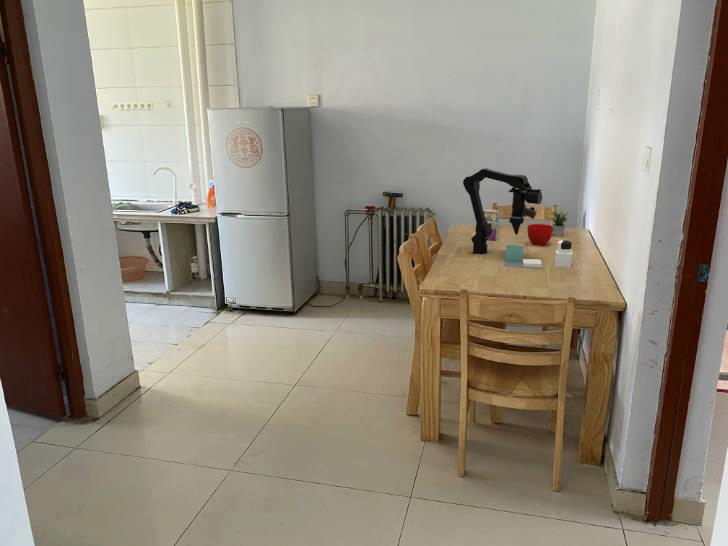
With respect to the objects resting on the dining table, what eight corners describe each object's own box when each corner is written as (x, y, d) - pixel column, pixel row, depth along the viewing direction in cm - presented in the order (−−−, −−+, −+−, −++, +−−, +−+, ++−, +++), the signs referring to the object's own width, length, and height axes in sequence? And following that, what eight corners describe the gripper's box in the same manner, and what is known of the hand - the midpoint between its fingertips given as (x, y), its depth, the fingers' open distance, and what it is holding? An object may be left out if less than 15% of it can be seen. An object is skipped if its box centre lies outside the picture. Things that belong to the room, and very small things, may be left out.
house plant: (539, 236, 326) (541, 208, 321) (546, 232, 337) (549, 204, 332) (564, 239, 318) (567, 210, 313) (571, 234, 329) (574, 206, 324)
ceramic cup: (561, 244, 307) (562, 225, 304) (540, 248, 298) (542, 229, 295) (541, 239, 317) (543, 222, 315) (521, 244, 308) (522, 225, 305)
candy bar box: (476, 239, 321) (477, 210, 317) (479, 237, 325) (481, 208, 321) (495, 241, 315) (497, 211, 311) (498, 239, 319) (500, 210, 315)
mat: (503, 267, 263) (503, 266, 263) (506, 259, 278) (506, 258, 278) (539, 270, 258) (539, 269, 258) (540, 261, 273) (540, 260, 273)
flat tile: (523, 267, 261) (523, 263, 260) (522, 262, 268) (523, 258, 268) (541, 268, 259) (541, 264, 258) (540, 263, 266) (540, 259, 266)
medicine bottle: (570, 265, 266) (573, 239, 263) (570, 269, 260) (573, 243, 257) (554, 263, 269) (556, 238, 265) (554, 267, 262) (556, 242, 259)
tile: (505, 261, 272) (506, 244, 270) (505, 260, 274) (506, 243, 272) (522, 262, 270) (523, 245, 267) (522, 261, 271) (523, 244, 269)
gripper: (535, 206, 260) (532, 239, 264) (537, 200, 277) (534, 231, 281) (510, 205, 263) (508, 238, 267) (513, 199, 280) (511, 230, 284)
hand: (516, 234), depth 275 cm, fingers closed
